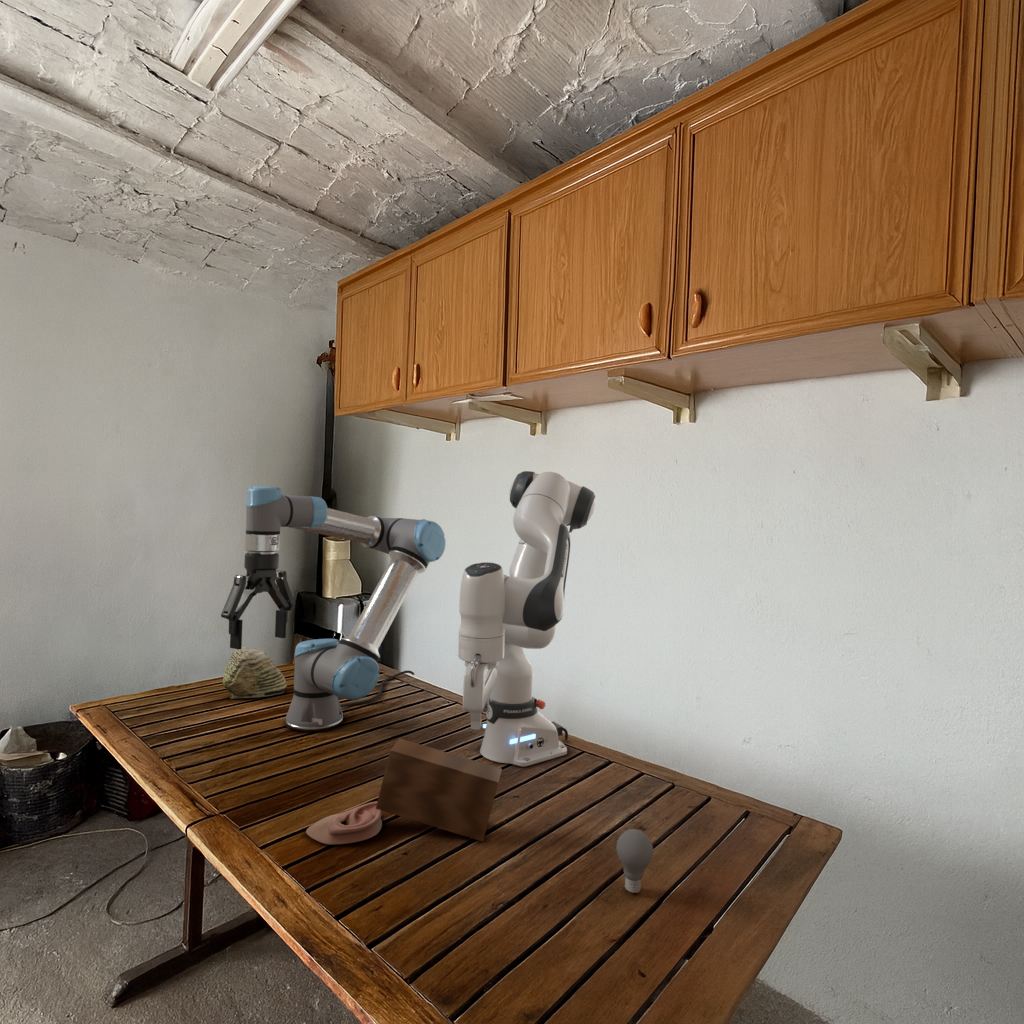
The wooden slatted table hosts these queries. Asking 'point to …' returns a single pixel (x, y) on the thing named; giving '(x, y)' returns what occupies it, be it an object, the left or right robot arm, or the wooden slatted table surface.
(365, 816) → the anatomical model
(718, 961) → the wooden slatted table surface
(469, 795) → the box
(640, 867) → the light bulb
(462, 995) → the wooden slatted table surface
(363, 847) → the wooden slatted table surface
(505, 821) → the wooden slatted table surface
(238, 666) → the fossil
